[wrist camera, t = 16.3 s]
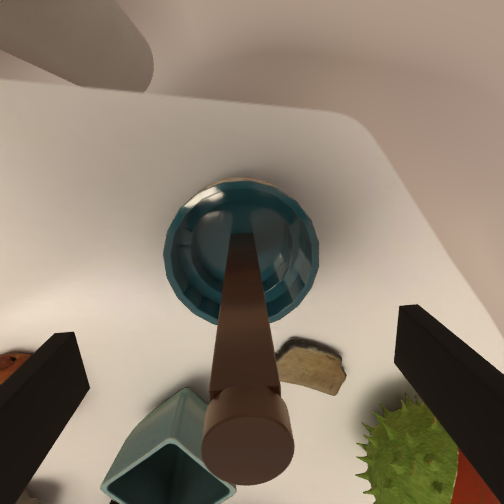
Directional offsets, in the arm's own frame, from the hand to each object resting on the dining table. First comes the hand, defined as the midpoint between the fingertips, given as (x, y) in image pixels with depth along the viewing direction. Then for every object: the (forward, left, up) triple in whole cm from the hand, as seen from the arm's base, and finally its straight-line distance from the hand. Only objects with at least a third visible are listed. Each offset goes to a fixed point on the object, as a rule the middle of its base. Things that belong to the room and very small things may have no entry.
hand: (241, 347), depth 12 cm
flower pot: (+20, -8, -18) cm, 28 cm away
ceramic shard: (+13, +6, -19) cm, 24 cm away
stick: (0, 0, -17) cm, 17 cm away
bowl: (0, 0, -18) cm, 18 cm away
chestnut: (+21, +10, -13) cm, 27 cm away
